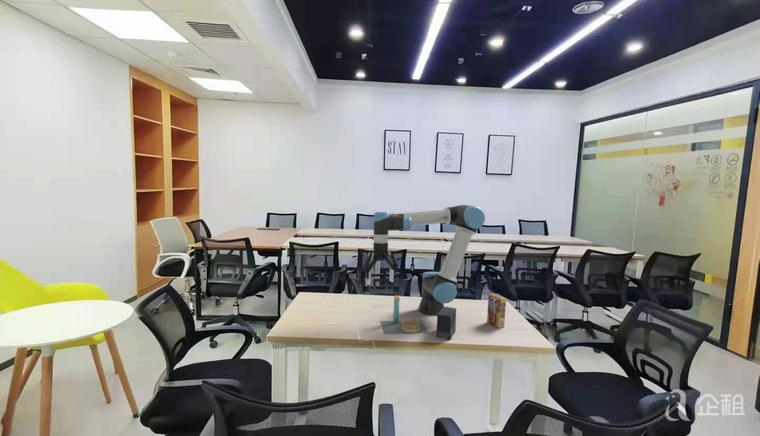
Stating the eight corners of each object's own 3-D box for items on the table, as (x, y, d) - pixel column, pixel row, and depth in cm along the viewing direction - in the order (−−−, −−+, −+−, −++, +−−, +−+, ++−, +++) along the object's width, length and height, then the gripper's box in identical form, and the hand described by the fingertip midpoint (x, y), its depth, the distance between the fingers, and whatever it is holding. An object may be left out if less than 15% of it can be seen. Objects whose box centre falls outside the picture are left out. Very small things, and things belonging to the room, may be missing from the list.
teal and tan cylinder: (398, 321, 183) (399, 295, 182) (399, 323, 180) (400, 297, 179) (392, 321, 183) (393, 295, 182) (393, 323, 180) (394, 297, 179)
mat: (420, 321, 186) (420, 320, 186) (429, 334, 169) (429, 333, 169) (379, 322, 183) (379, 320, 183) (384, 335, 167) (384, 334, 166)
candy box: (505, 327, 182) (506, 298, 181) (498, 328, 180) (500, 299, 179) (492, 321, 190) (494, 293, 189) (486, 322, 188) (488, 294, 187)
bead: (417, 325, 179) (417, 319, 179) (421, 332, 170) (422, 326, 170) (399, 325, 178) (400, 319, 178) (403, 332, 169) (403, 326, 169)
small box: (442, 329, 177) (443, 305, 176) (455, 331, 174) (456, 308, 173) (435, 338, 165) (437, 313, 164) (450, 341, 162) (451, 316, 161)
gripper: (397, 239, 188) (396, 278, 190) (355, 242, 176) (355, 284, 177) (405, 241, 182) (404, 281, 184) (362, 244, 169) (362, 287, 171)
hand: (380, 283), depth 181 cm, fingers open, 13 cm apart
